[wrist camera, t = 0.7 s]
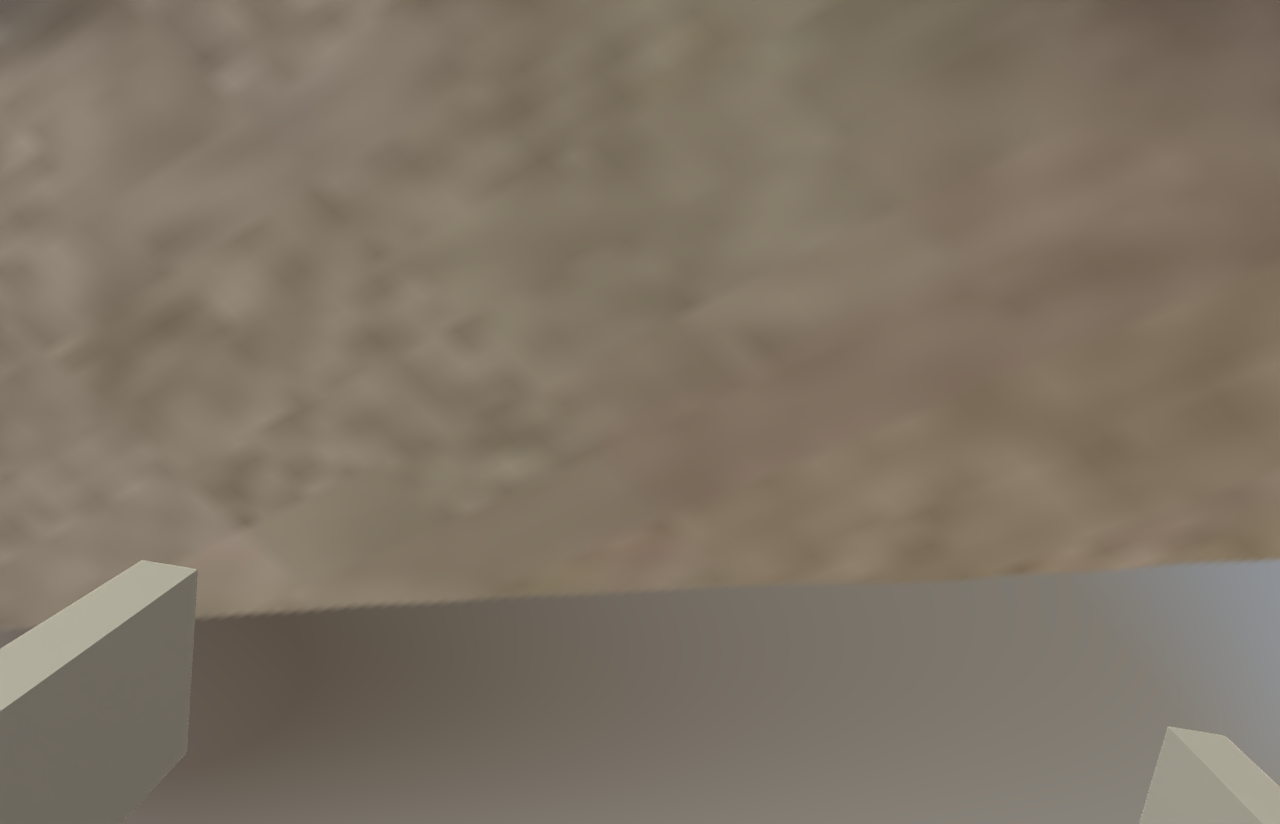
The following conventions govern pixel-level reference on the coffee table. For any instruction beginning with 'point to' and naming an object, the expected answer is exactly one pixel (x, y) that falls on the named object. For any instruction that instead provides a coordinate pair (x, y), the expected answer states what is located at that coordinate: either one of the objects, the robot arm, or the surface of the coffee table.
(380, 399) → the coffee table surface
